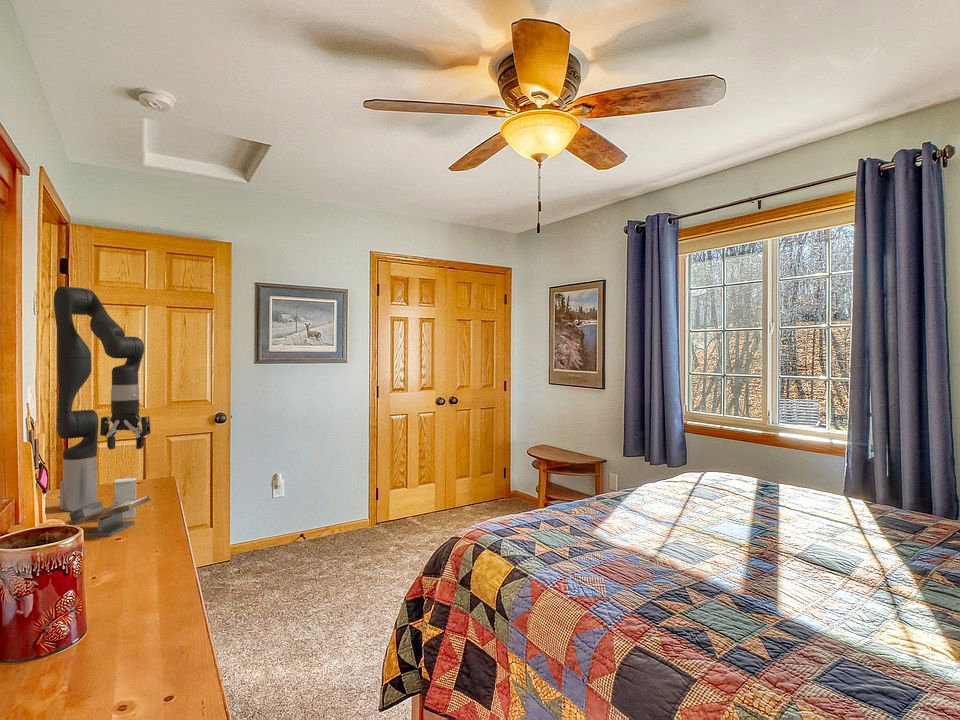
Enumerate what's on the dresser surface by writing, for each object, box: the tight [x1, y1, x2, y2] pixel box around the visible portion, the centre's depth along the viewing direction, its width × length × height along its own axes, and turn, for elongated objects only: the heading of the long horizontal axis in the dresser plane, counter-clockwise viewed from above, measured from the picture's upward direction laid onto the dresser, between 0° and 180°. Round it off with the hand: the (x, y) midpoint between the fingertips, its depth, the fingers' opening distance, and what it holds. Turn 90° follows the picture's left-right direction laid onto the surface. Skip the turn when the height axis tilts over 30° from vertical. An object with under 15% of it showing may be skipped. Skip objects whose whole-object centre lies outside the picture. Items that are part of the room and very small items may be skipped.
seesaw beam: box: [66, 495, 151, 526], centre depth 156 cm, size 18×10×4 cm, turn 91°
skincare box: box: [113, 477, 137, 519], centre depth 169 cm, size 6×4×12 cm
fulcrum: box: [84, 512, 135, 538], centre depth 156 cm, size 7×11×4 cm, turn 2°
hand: (125, 448), depth 168 cm, fingers open, 8 cm apart
